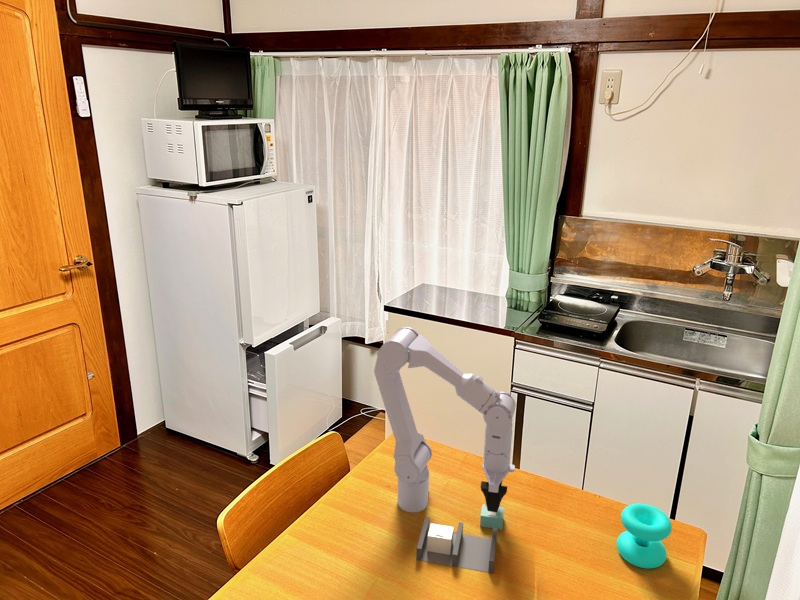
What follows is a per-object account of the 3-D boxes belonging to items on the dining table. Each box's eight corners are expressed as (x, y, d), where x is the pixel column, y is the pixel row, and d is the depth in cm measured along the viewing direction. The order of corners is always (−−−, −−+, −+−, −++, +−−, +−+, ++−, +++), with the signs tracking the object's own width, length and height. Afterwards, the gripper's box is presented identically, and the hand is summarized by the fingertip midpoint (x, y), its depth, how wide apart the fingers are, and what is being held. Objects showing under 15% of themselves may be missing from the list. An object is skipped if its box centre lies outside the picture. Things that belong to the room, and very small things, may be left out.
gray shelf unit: (424, 531, 135) (425, 516, 134) (496, 543, 132) (497, 528, 130) (416, 563, 126) (416, 548, 124) (492, 577, 123) (494, 561, 121)
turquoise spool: (619, 522, 124) (625, 495, 132) (612, 561, 127) (619, 532, 136) (671, 538, 120) (674, 509, 128) (663, 578, 123) (666, 547, 131)
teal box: (481, 518, 140) (482, 503, 138) (503, 521, 138) (504, 507, 137) (479, 530, 136) (480, 514, 134) (501, 533, 135) (503, 518, 133)
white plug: (430, 538, 132) (430, 522, 130) (452, 541, 131) (453, 526, 129) (427, 551, 128) (427, 535, 126) (450, 555, 127) (451, 539, 125)
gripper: (514, 469, 123) (510, 523, 127) (517, 432, 136) (513, 482, 141) (480, 464, 124) (476, 518, 129) (486, 428, 138) (483, 478, 142)
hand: (493, 499), depth 135 cm, fingers open, 7 cm apart
